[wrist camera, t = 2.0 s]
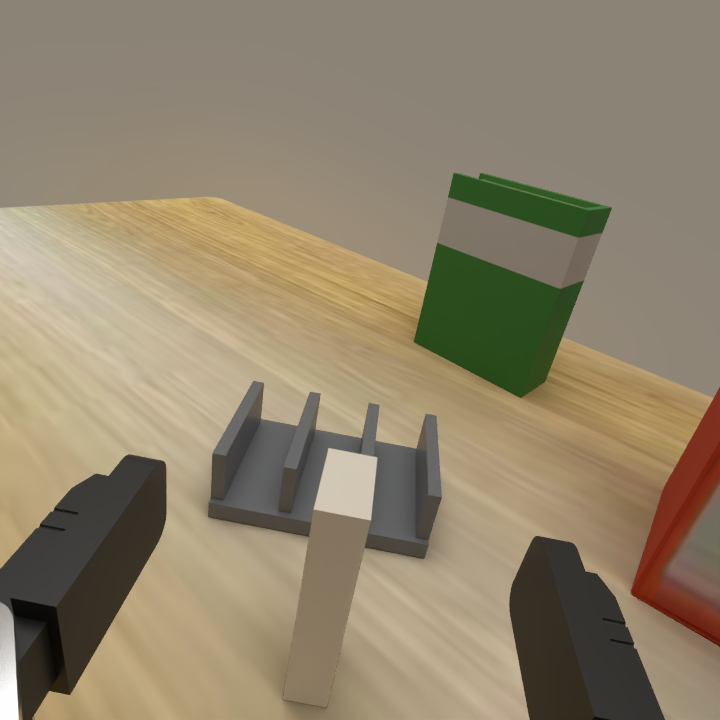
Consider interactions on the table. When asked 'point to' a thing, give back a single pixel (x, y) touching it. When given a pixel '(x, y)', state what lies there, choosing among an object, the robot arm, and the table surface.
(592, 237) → the hardback book
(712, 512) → the file binder
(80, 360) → the table surface
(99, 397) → the table surface
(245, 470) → the drying rack
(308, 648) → the beige rectangular block
